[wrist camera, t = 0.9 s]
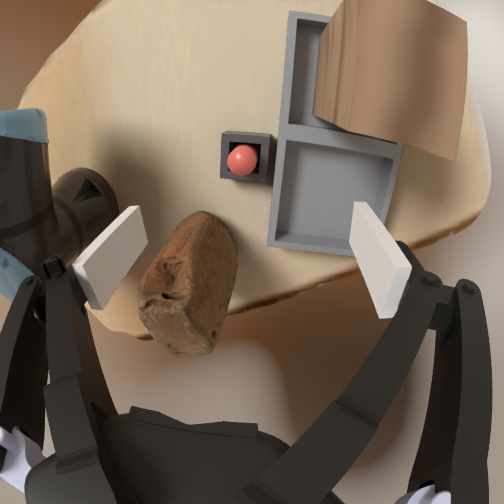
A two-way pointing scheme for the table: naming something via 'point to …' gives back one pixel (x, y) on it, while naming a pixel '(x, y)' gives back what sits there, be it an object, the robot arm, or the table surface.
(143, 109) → the table surface
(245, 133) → the button housing
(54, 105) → the table surface
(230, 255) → the block
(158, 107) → the table surface
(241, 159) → the button
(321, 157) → the gray divided tray
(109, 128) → the table surface
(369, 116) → the seated billet
